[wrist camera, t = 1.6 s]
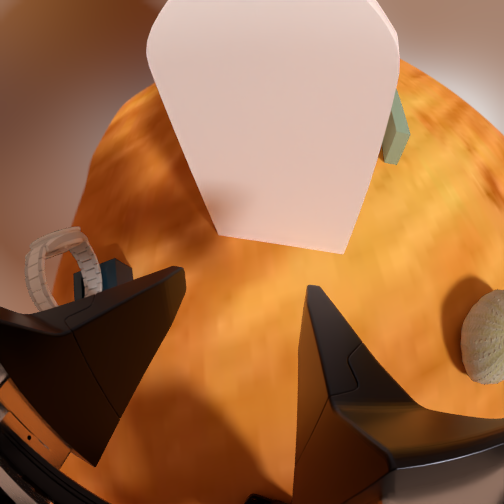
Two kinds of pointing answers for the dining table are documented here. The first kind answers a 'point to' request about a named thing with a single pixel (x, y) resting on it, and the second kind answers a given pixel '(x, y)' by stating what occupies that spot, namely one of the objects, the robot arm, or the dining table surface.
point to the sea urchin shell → (484, 339)
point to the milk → (278, 110)
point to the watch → (85, 280)
